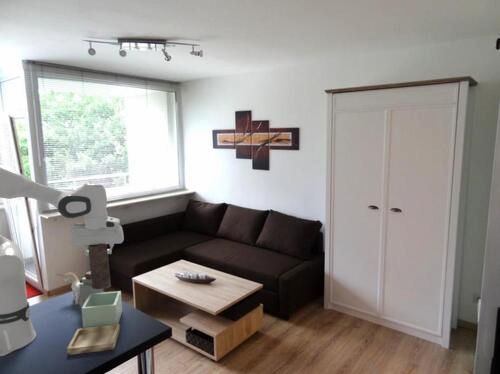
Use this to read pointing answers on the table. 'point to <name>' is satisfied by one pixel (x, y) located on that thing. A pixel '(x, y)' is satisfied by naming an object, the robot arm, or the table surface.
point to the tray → (94, 339)
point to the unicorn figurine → (73, 285)
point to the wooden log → (99, 266)
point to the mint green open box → (102, 309)
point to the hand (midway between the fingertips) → (98, 254)
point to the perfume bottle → (87, 288)
